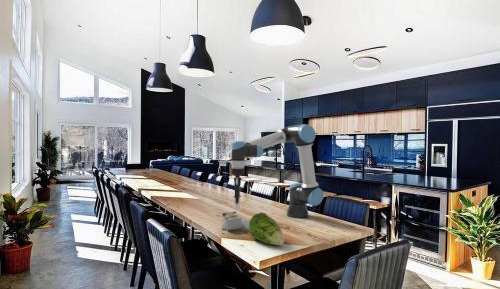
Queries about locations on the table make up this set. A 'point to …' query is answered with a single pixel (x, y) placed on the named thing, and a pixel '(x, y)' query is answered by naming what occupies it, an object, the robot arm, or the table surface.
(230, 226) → the coffee box
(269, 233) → the lettuce
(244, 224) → the mat
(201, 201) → the table surface
